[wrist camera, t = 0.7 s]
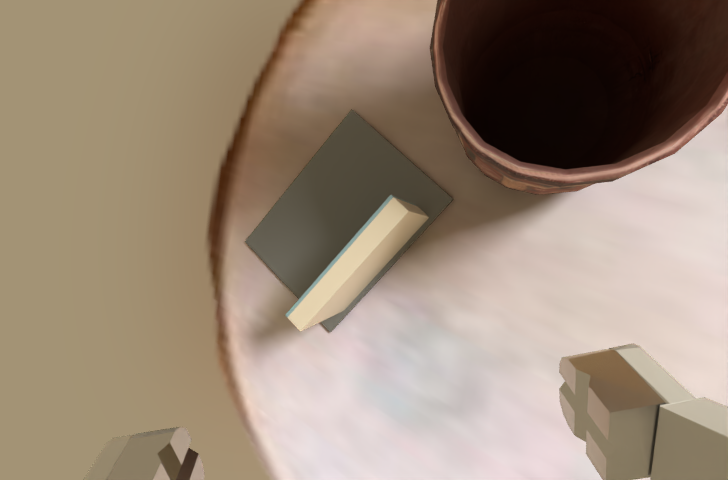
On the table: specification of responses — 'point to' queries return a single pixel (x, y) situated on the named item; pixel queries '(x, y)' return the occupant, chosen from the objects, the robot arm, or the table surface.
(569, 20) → the pottery
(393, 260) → the mat
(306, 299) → the tile
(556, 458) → the table surface
